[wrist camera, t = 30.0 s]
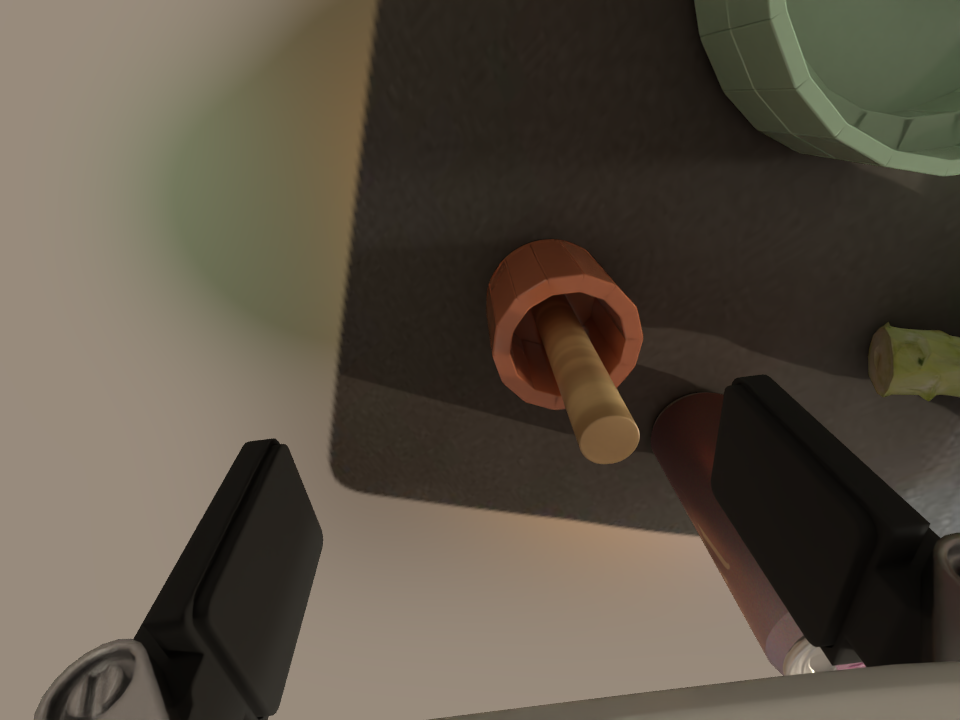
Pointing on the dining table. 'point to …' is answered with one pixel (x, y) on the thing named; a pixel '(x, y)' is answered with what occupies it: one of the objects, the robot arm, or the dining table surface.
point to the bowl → (844, 76)
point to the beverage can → (728, 532)
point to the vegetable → (914, 362)
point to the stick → (585, 385)
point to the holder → (590, 296)
